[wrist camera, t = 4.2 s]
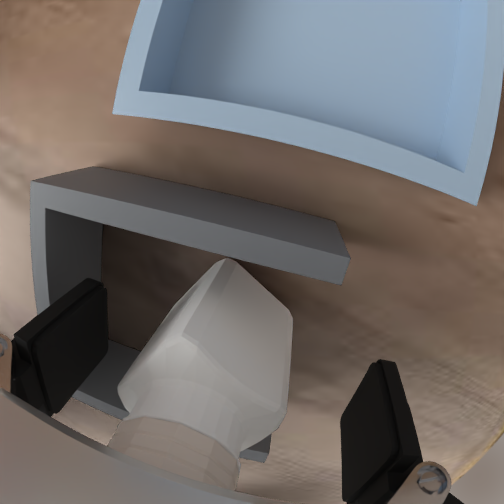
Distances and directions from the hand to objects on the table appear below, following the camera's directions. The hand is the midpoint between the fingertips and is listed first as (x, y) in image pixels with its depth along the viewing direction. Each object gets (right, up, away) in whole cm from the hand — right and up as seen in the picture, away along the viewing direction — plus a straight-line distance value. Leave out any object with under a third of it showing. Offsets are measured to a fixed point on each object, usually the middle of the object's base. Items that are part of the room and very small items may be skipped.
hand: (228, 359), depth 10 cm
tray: (+4, +13, -1) cm, 13 cm away
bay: (-2, +2, +4) cm, 5 cm away
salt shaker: (0, +1, +4) cm, 4 cm away
